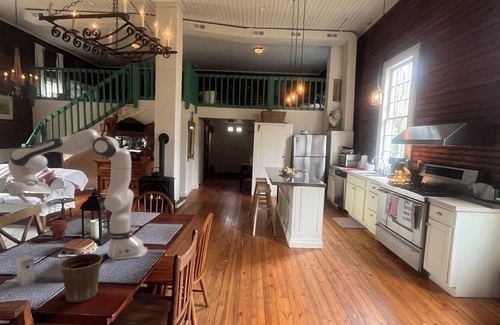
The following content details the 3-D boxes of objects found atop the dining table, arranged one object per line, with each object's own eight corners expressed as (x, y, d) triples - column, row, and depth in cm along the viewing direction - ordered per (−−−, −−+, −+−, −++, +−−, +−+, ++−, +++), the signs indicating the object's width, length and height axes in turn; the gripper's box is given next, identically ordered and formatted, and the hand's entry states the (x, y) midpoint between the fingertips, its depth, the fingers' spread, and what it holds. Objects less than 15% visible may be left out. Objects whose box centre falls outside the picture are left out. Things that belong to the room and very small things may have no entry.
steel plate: (82, 267, 149) (82, 263, 148) (67, 281, 135) (67, 276, 134) (54, 268, 147) (54, 263, 147) (36, 281, 133) (36, 276, 133)
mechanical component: (71, 236, 193) (58, 241, 183) (59, 235, 195) (46, 240, 185) (70, 219, 192) (58, 223, 182) (58, 218, 194) (45, 222, 184)
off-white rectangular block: (30, 278, 137) (29, 254, 136) (34, 282, 133) (33, 258, 132) (17, 282, 133) (16, 258, 132) (21, 286, 129) (20, 261, 128)
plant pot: (86, 282, 135) (86, 250, 133) (110, 290, 128) (110, 256, 127) (51, 299, 120) (50, 264, 118) (77, 309, 113) (76, 272, 112)
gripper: (8, 176, 142) (18, 197, 138) (47, 180, 161) (57, 198, 157) (1, 184, 142) (10, 205, 138) (40, 187, 162) (50, 205, 158)
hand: (35, 201), depth 148 cm, fingers open, 8 cm apart
